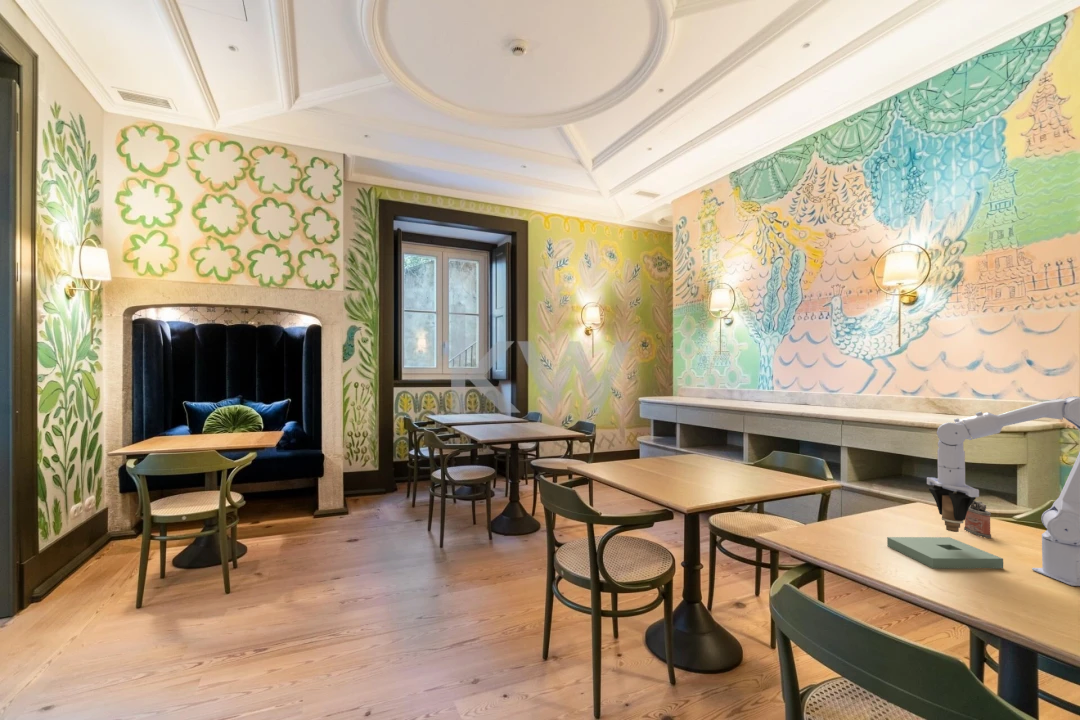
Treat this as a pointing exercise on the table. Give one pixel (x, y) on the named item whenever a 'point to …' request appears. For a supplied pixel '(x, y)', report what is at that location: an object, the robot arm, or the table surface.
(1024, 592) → the table surface
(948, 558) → the board
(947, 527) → the peg
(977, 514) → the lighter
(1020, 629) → the table surface
